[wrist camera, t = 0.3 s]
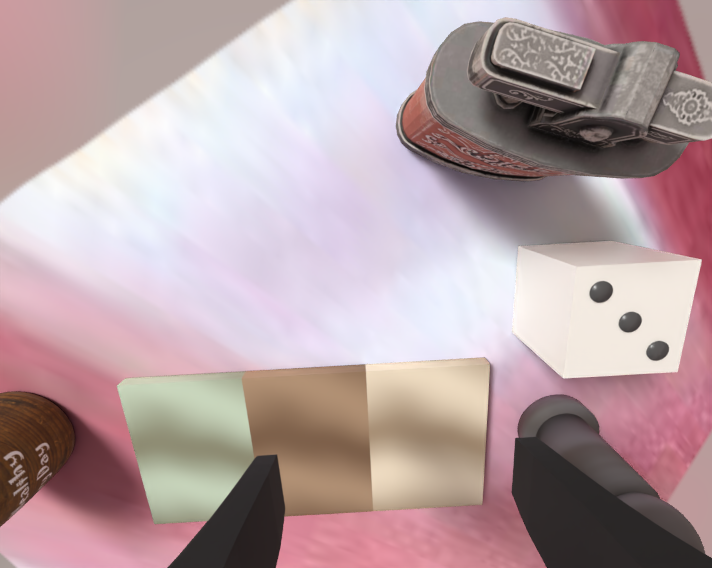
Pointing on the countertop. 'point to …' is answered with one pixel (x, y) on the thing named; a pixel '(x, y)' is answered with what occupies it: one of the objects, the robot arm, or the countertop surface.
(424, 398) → the board
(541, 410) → the pawn
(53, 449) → the utensil holder
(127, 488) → the countertop surface
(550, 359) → the die
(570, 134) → the lighter
